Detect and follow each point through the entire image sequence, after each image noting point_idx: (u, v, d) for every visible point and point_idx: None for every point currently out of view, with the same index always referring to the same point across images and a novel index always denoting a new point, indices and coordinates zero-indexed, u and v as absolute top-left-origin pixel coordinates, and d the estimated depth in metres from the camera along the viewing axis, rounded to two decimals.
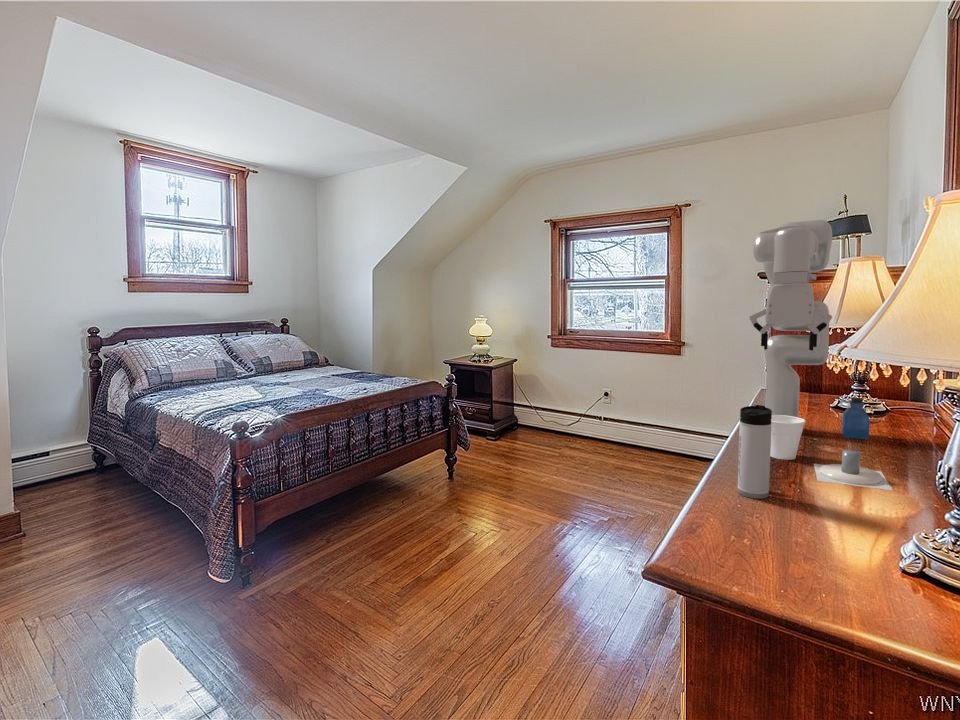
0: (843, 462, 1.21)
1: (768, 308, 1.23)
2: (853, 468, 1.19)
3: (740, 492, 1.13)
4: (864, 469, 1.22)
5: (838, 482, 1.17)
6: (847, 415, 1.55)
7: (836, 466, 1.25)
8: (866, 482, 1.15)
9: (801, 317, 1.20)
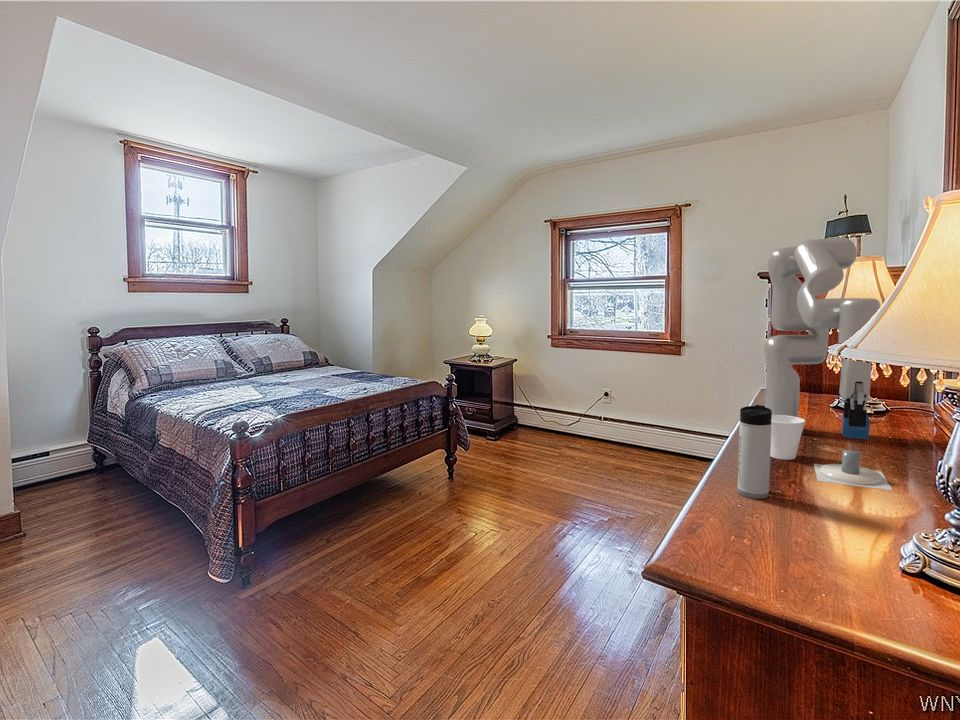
0: (843, 462, 1.21)
1: (869, 382, 1.13)
2: (853, 468, 1.19)
3: (740, 492, 1.13)
4: (864, 469, 1.22)
5: (838, 482, 1.17)
6: None
7: (836, 466, 1.25)
8: (866, 482, 1.15)
9: None
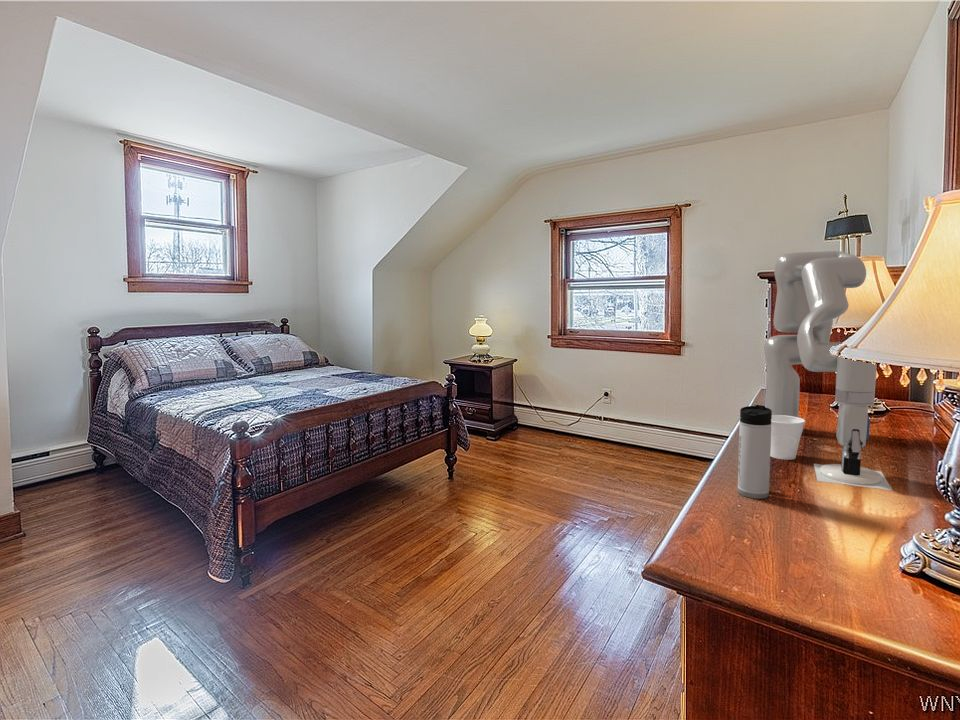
0: (843, 462, 1.21)
1: (866, 430, 1.15)
2: None
3: (740, 492, 1.13)
4: (864, 469, 1.22)
5: (838, 482, 1.17)
6: None
7: (836, 466, 1.25)
8: (866, 482, 1.15)
9: None
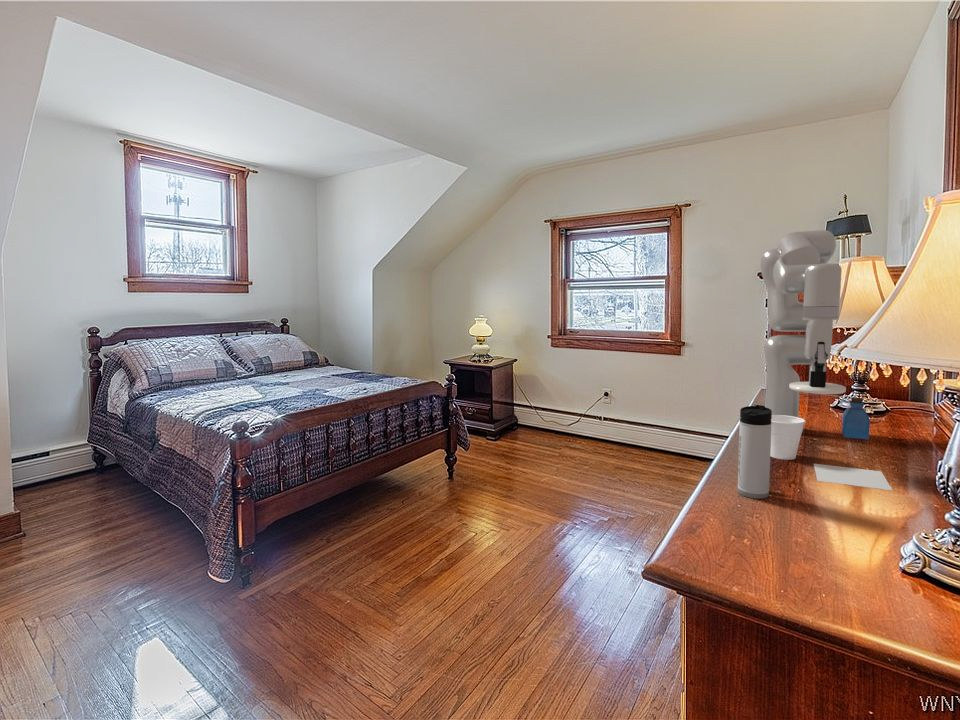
0: None
1: (831, 342, 1.21)
2: None
3: (740, 492, 1.13)
4: (830, 384, 1.29)
5: (838, 482, 1.17)
6: (847, 415, 1.55)
7: (804, 383, 1.31)
8: (831, 391, 1.21)
9: None
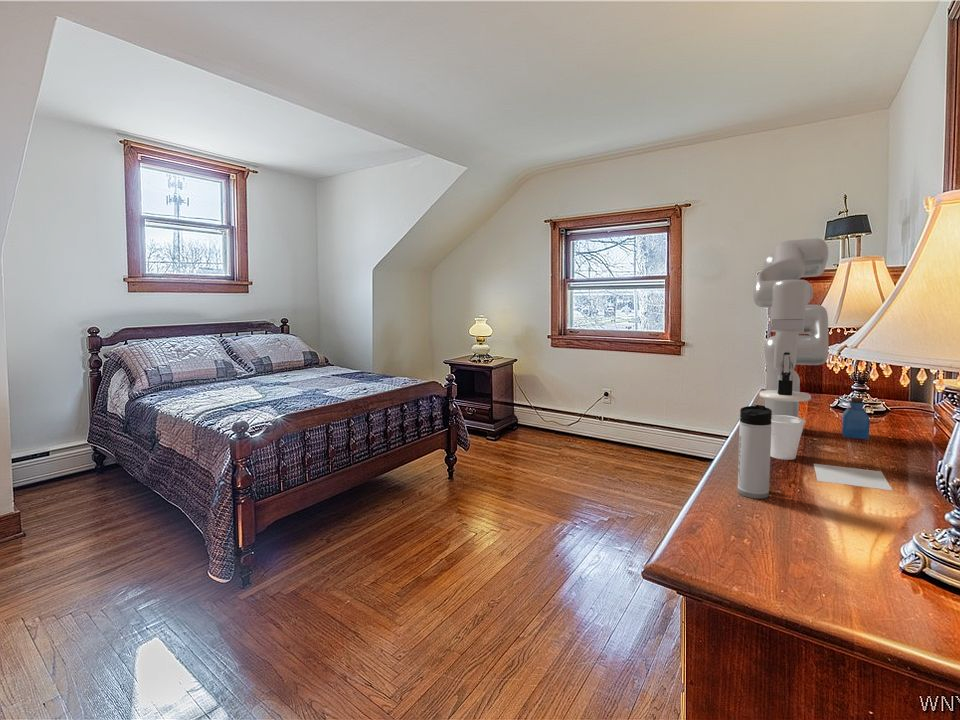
0: None
1: (796, 353, 1.29)
2: None
3: (740, 492, 1.13)
4: (798, 392, 1.37)
5: (838, 482, 1.17)
6: (847, 415, 1.55)
7: (773, 391, 1.39)
8: (796, 399, 1.29)
9: None
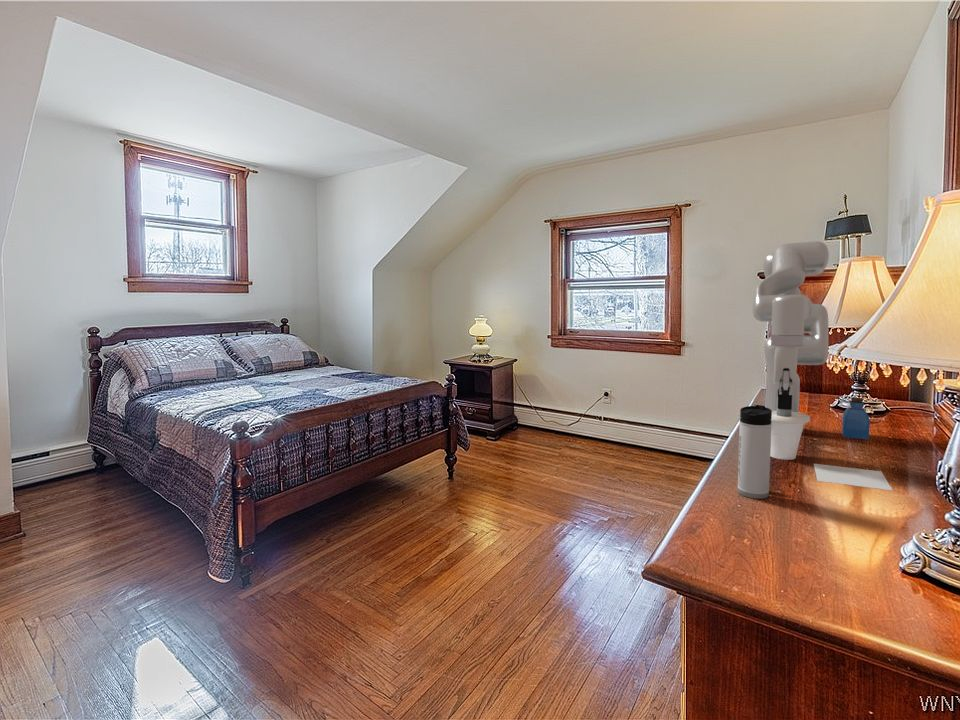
0: (777, 406, 1.36)
1: (795, 369, 1.30)
2: (785, 411, 1.34)
3: (740, 492, 1.13)
4: (797, 413, 1.38)
5: (838, 482, 1.17)
6: (847, 415, 1.55)
7: (773, 412, 1.40)
8: (795, 421, 1.30)
9: None
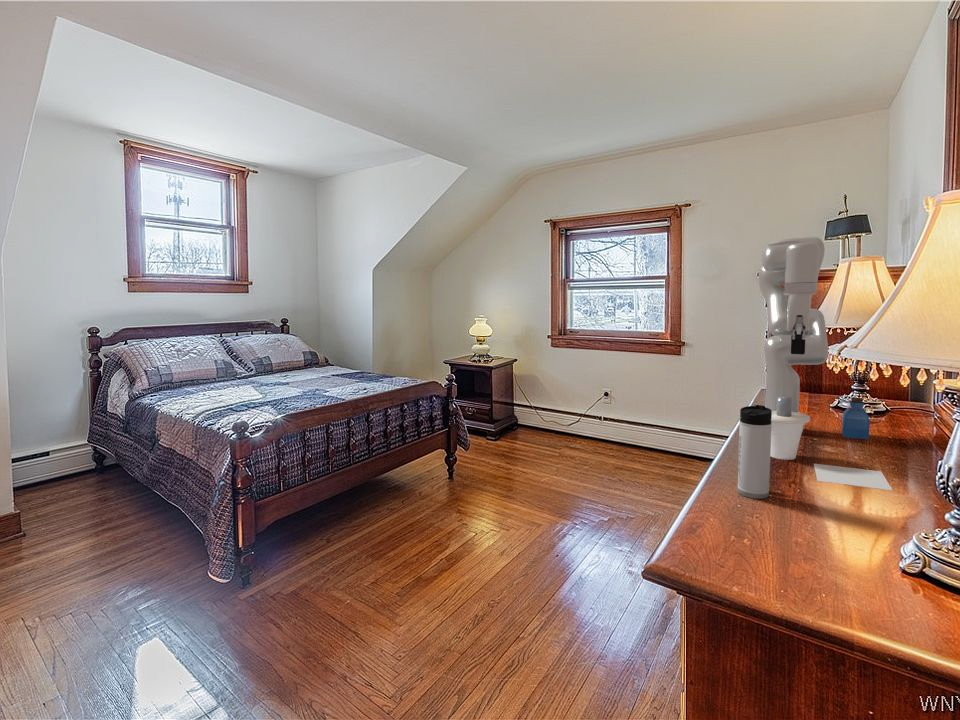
0: (777, 406, 1.36)
1: (808, 315, 1.31)
2: (785, 411, 1.34)
3: (740, 492, 1.13)
4: (797, 413, 1.38)
5: (838, 482, 1.17)
6: (847, 415, 1.55)
7: (773, 412, 1.40)
8: (795, 421, 1.30)
9: None
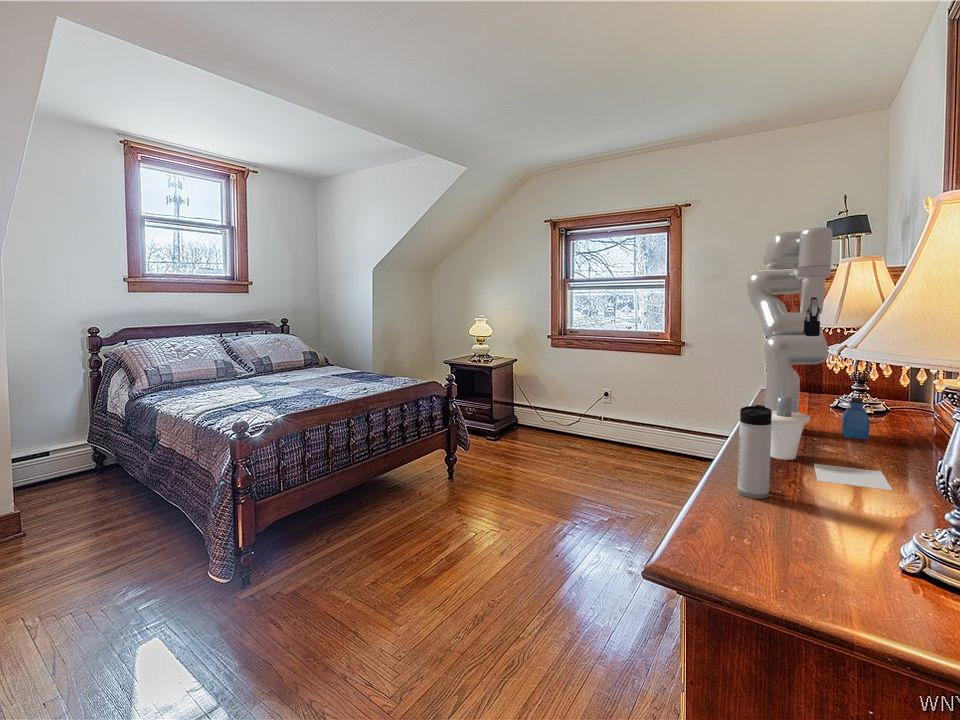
0: (777, 406, 1.36)
1: (823, 297, 1.34)
2: (785, 411, 1.34)
3: (740, 492, 1.13)
4: (797, 413, 1.38)
5: (838, 482, 1.17)
6: (847, 415, 1.55)
7: (773, 412, 1.40)
8: (795, 422, 1.30)
9: None
